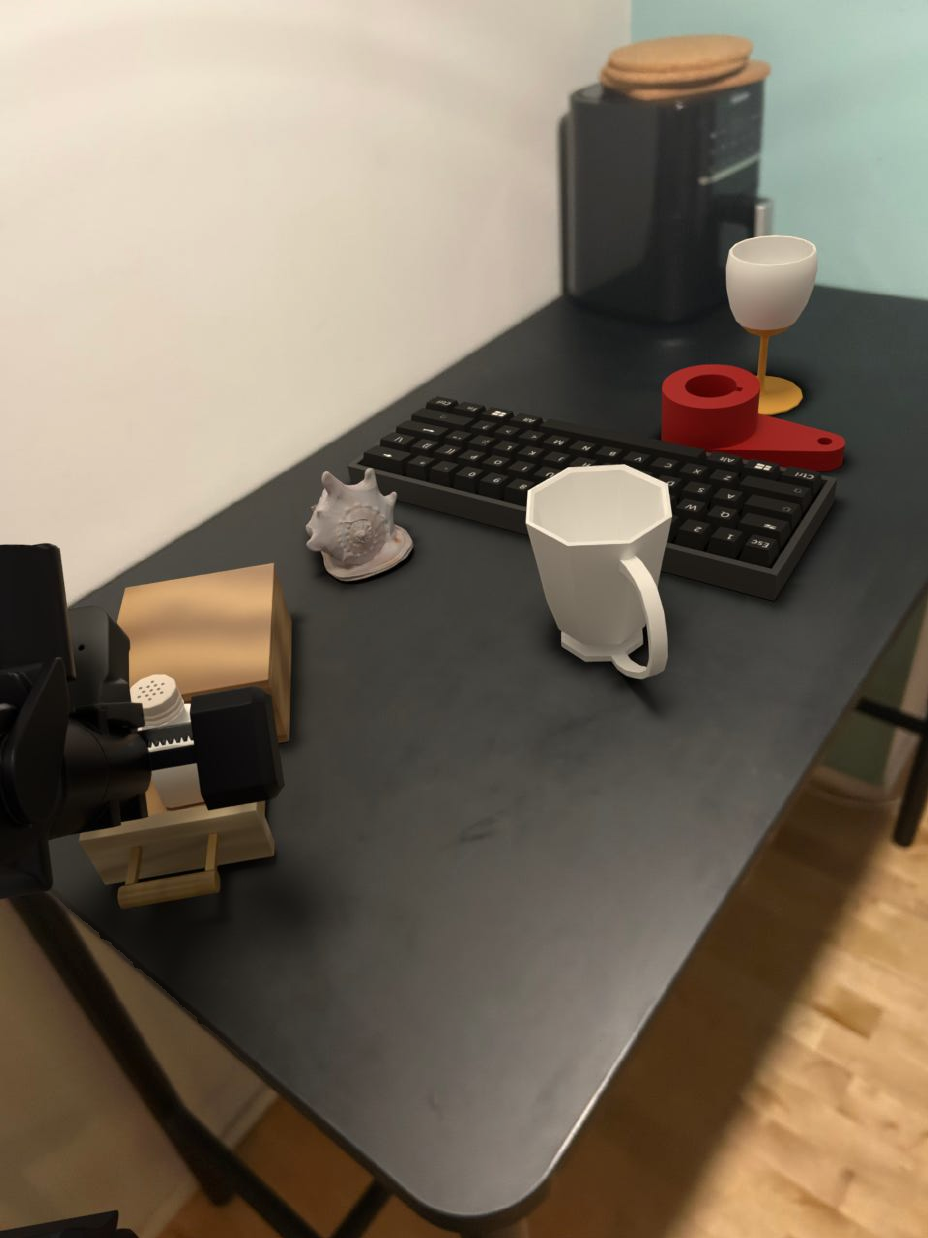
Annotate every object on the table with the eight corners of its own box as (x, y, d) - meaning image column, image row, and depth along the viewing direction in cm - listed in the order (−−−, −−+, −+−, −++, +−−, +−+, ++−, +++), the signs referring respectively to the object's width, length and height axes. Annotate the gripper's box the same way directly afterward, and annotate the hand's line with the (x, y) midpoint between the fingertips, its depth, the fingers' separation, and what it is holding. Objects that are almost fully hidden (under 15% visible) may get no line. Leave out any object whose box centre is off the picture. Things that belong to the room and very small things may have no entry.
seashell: (337, 600, 87) (315, 514, 81) (278, 545, 95) (253, 462, 89) (430, 553, 90) (415, 467, 84) (365, 503, 98) (347, 422, 92)
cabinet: (289, 741, 74) (268, 679, 69) (125, 769, 73) (94, 708, 69) (292, 622, 85) (274, 562, 81) (150, 646, 85) (125, 587, 80)
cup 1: (635, 577, 84) (634, 448, 76) (727, 696, 72) (739, 557, 64) (513, 613, 82) (500, 484, 74) (588, 741, 70) (581, 603, 62)
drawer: (272, 911, 61) (253, 865, 58) (93, 942, 61) (65, 898, 58) (279, 714, 75) (264, 669, 72) (133, 739, 75) (112, 695, 71)
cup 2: (700, 392, 108) (707, 248, 98) (766, 370, 110) (779, 227, 100) (751, 424, 102) (764, 274, 91) (820, 399, 104) (840, 250, 94)
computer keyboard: (833, 502, 89) (839, 466, 87) (774, 601, 79) (778, 563, 77) (436, 418, 111) (431, 387, 108) (352, 487, 101) (344, 455, 99)
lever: (648, 460, 99) (649, 401, 94) (678, 417, 105) (679, 359, 100) (831, 489, 91) (840, 426, 87) (851, 440, 97) (861, 379, 93)
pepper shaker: (168, 770, 70) (124, 675, 64) (223, 760, 70) (184, 664, 64) (163, 813, 67) (116, 717, 61) (220, 802, 67) (179, 705, 61)
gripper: (220, 576, 46) (280, 612, 62) (-170, 641, 46) (-10, 662, 61) (254, 809, 45) (307, 786, 60) (-146, 878, 44) (11, 838, 60)
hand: (153, 763), depth 60 cm, fingers open, 9 cm apart
